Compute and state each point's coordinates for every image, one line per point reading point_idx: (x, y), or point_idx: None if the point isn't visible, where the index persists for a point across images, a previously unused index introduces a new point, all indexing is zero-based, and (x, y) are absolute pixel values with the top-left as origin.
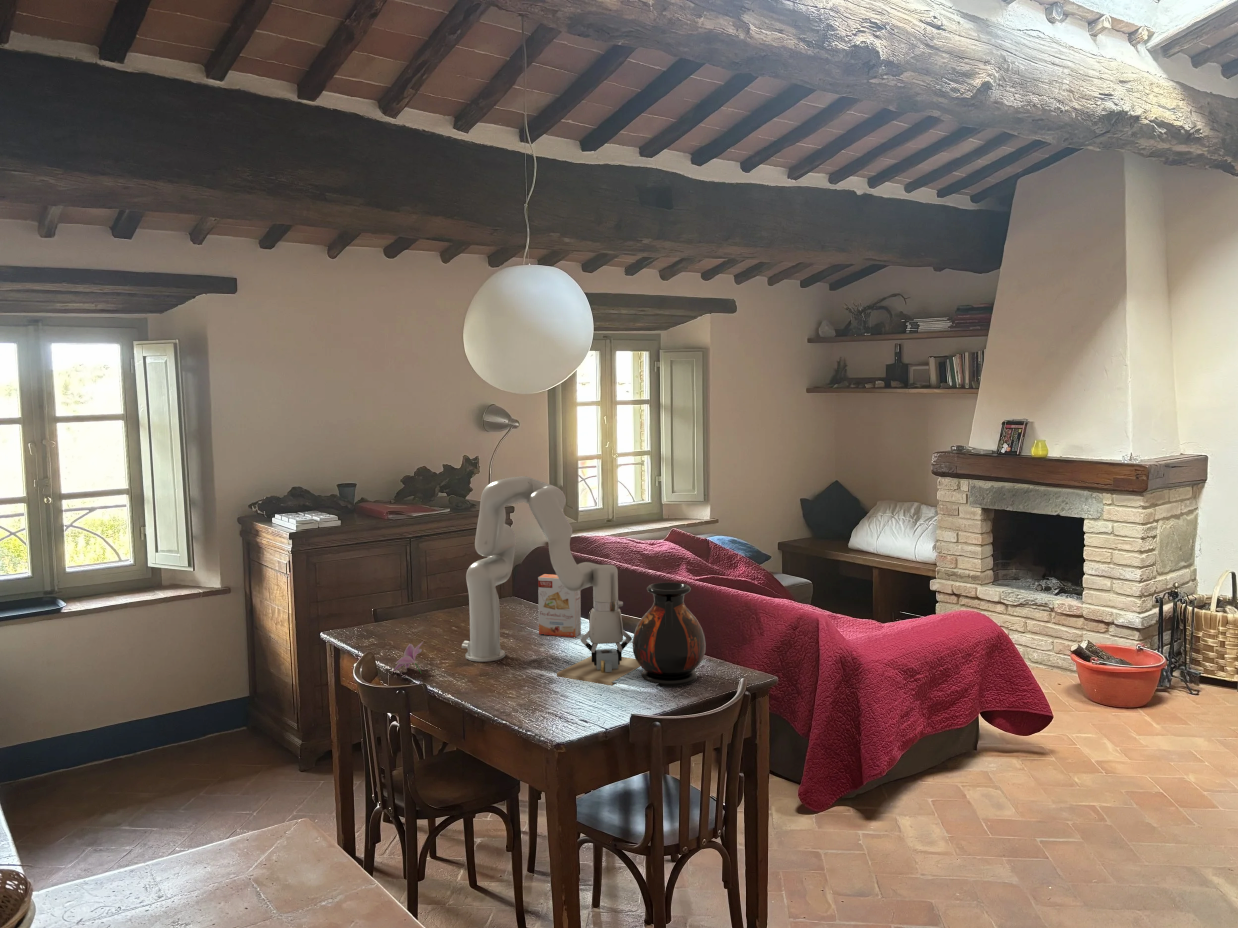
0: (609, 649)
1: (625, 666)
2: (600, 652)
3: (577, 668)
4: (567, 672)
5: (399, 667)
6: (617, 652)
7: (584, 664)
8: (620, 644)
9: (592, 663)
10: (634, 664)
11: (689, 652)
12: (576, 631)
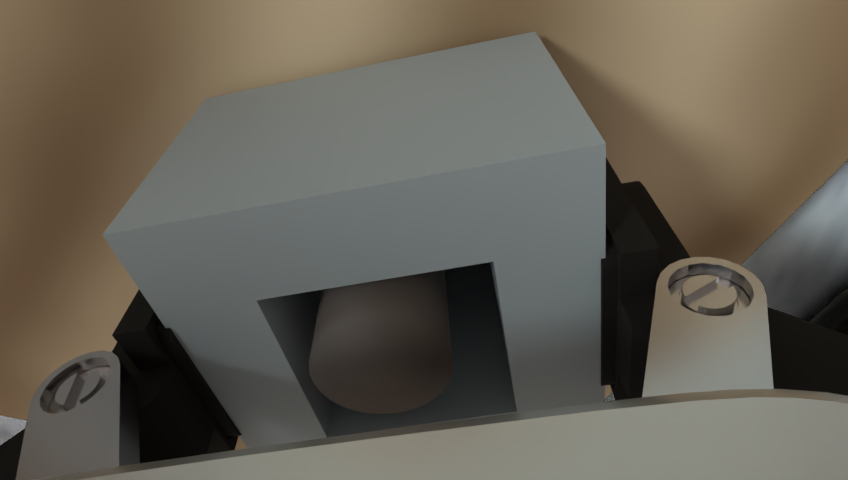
0: (444, 223)
1: (660, 154)
2: (296, 398)
3: (50, 274)
4: (24, 385)
5: None
6: (605, 382)
7: (41, 105)
8: (758, 375)
9: (141, 42)
10: (822, 50)
11: None
12: None
